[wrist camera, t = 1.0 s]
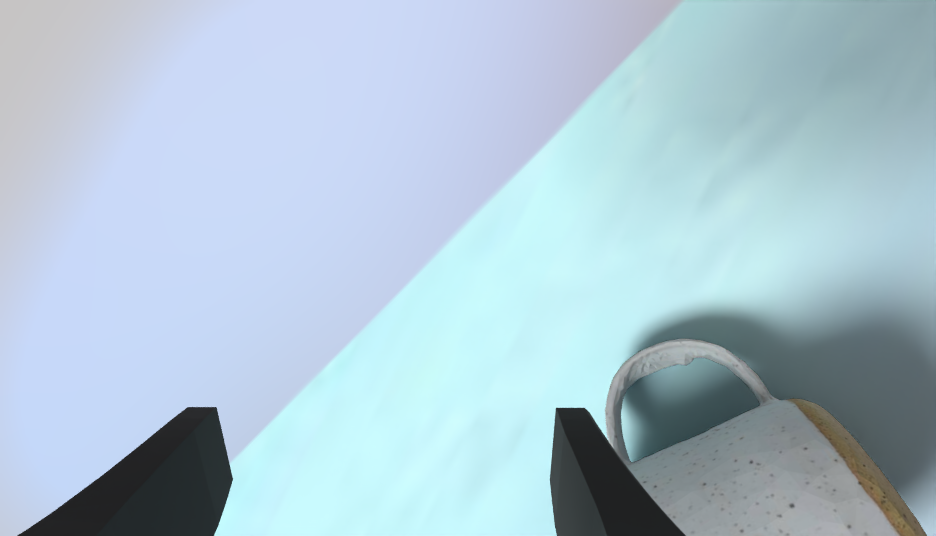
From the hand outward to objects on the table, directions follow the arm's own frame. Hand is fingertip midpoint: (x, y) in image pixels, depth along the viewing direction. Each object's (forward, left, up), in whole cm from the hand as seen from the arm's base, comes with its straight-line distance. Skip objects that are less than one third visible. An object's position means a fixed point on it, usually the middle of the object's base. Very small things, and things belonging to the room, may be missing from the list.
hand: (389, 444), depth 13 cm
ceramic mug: (-4, -8, -14) cm, 17 cm away
